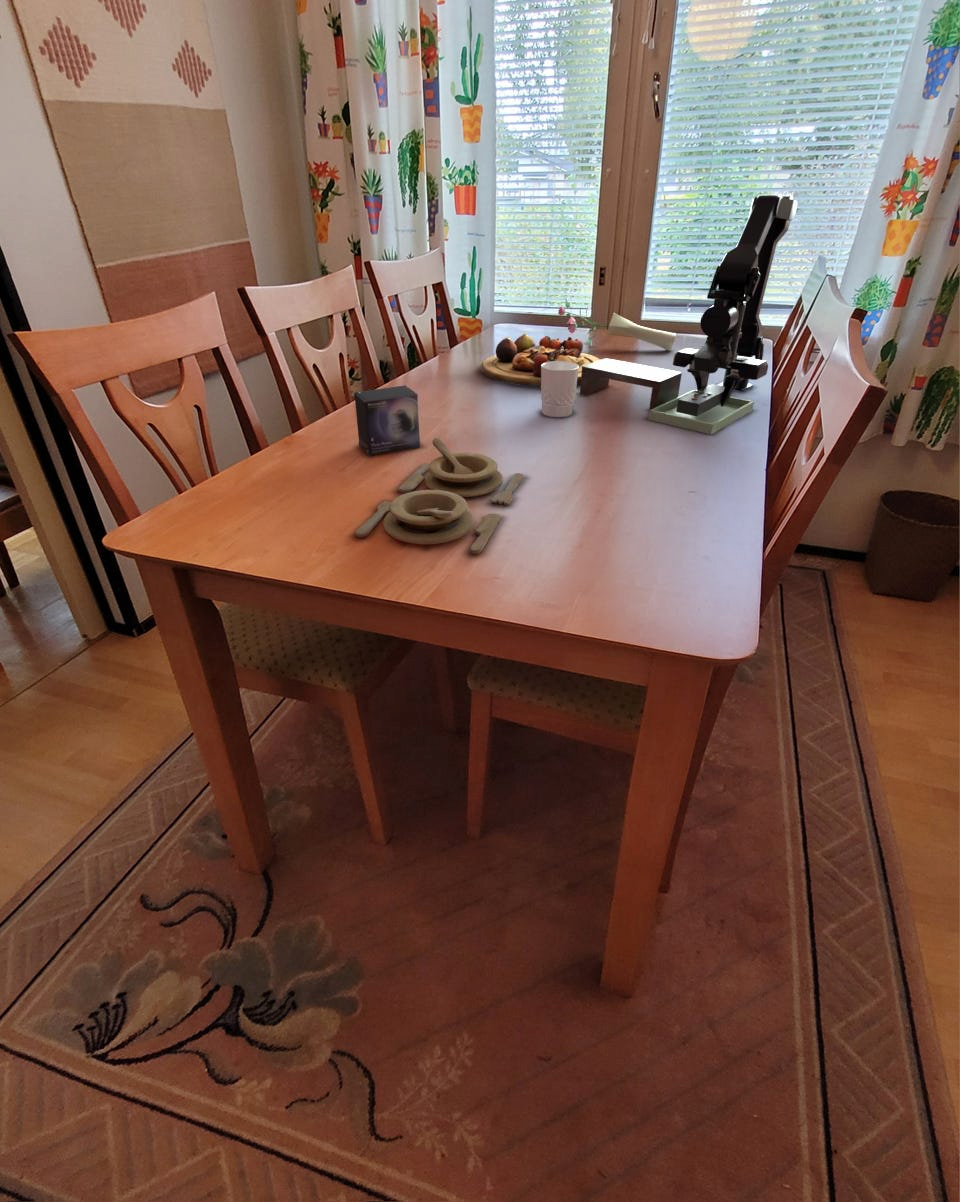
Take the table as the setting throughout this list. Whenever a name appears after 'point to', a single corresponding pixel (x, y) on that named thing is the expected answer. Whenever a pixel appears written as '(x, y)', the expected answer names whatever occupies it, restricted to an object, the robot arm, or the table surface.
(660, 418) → the tray
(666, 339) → the flower vase
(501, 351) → the wooden plate
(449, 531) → the tableware set
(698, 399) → the dark gray box
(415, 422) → the small box
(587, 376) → the shelf
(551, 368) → the white cup
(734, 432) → the table surface
